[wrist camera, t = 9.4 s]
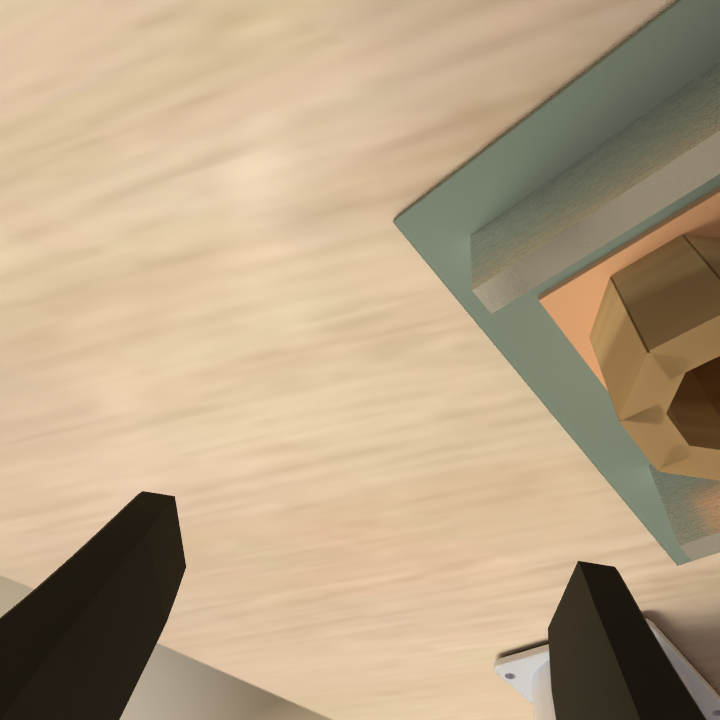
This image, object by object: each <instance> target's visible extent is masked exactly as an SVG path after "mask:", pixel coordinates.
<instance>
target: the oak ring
mask: <svg viewBox="0 0 720 720" xmlns="http://www.w3.org/2000/svg"><path fill="white" fill-rule="evenodd" d="M611 276H612V278H611V277H610V278H609V281H608V284H607V286H606V289H605V292H604V295H603V298H602V301H601V304H600V307H599V310H598V313H597V315H596V318H595V321H594V324H593V327H592V330H591V333H590V336H589V337H590V341H591V344H592V347H593V349H594V352H595V355H596V358H597V361H598V363H599V366H600V369H601V372H602V375H603V377H604V380H605V383H606V386H607V389H608V391H609V394H610V397H611V400H612V403H613V405H614V408H615V411H616V414H617V417H618V419H619V422H620V423H621V424H622V426H623V427H624V428H625V430H626V431H627V432H628V434H629V435H630V436H631V437H632V439H633V440H634V441H635V443H636V444H637V445H638V447H639V448H640V449H641V450H642V452H643V453H644V454H645V456H646V457H647V458H648V459H649V461H650V462H651V463H652V465H653V466H654V467H655V469H656V470H657V471H658V470H659V472H664V473H671V474H678V475H684V476H691V477H698V478H705V479H712V480H719V481H720V238H714V237H706V236H697V235H689V234H684V235H683V236H682V235H680V236H678V237H676V238H674V239H673V240H671V241H669V242H668V243H666V244H664V245H662V246H661V247H659V248H657V249H656V250H654V251H652V252H650V253H649V254H647V255H645V256H644V257H642V258H640V259H639V260H637V261H635V262H633V263H632V264H630V265H628V266H627V267H625V268H623V269H621V270H620V271H618V272H616V273H615V274H613V275H611Z"/></svg>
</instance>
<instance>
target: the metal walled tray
mask: <svg viewBox="0 0 720 720" xmlns="http://www.w3.org/2000/svg"><path fill="white" fill-rule="evenodd" d="M719 174H720V61H719V62H718V63H717V64H715V65H714V66H712V67H711V68H709V69H708V70H707V71H705V72H704V73H702V74H701V75H699V76H698V77H697V78H695V79H694V80H692V81H691V82H689V83H688V84H687V85H685V86H684V87H682V88H681V89H679V90H678V91H677V92H675V93H674V94H672V95H671V96H669V97H668V98H667V99H665V100H664V101H662V102H661V103H659V104H658V105H657V106H655V107H654V108H652V109H651V110H649V111H648V112H647V113H645V114H644V115H642V116H641V117H639V118H638V119H637V120H635V121H634V122H632V123H631V124H629V125H628V126H627V127H625V128H624V129H622V130H621V131H619V132H618V133H617V134H615V135H614V136H612V137H611V138H609V139H608V140H607V141H605V142H604V143H602V144H601V145H599V146H598V147H596V148H595V149H594V150H592V151H591V152H589V153H588V154H586V155H585V156H584V157H582V158H581V159H579V160H578V161H576V162H575V163H574V164H572V165H571V166H569V167H568V168H566V169H565V170H564V171H562V172H561V173H559V174H558V175H556V176H555V177H554V178H552V179H551V180H549V181H548V182H546V183H545V184H544V185H542V186H541V187H539V188H538V189H536V190H535V191H534V192H532V193H531V194H529V195H528V196H526V197H525V198H524V199H522V200H521V201H519V202H518V203H516V204H515V205H514V206H512V207H511V208H509V209H508V210H506V211H505V212H504V213H502V214H501V215H499V216H498V217H496V218H495V219H494V220H492V221H491V222H489V223H488V224H486V225H485V226H484V227H482V228H481V229H479V230H478V231H476V232H475V233H474V234H472V235H471V236H470V249H471V273H472V291H473V292H474V293H475V295H476V296H477V297H478V298H479V300H480V301H481V302H482V303H483V305H484V306H485V307H486V308H487V309H488V311H489V312H490V313H491V314H492V313H494V312H496V311H497V310H499V309H500V308H502V307H504V306H505V305H507V304H509V303H510V302H512V301H514V300H515V299H517V298H518V297H520V296H522V295H523V294H525V293H527V292H528V291H530V290H531V289H533V288H535V287H536V286H538V285H540V284H541V283H543V282H544V281H546V280H548V279H549V278H551V277H553V276H554V275H556V274H557V273H559V272H561V271H562V270H564V269H566V268H567V267H569V266H571V265H572V264H574V263H575V262H577V261H579V260H580V259H582V258H584V257H585V256H587V255H588V254H590V253H592V252H593V251H595V250H597V249H598V248H600V247H601V246H603V245H605V244H606V243H608V242H610V241H611V240H613V239H614V238H616V237H618V236H619V235H621V234H623V233H624V232H626V231H628V230H629V229H631V228H632V227H634V226H636V225H637V224H639V223H641V222H642V221H644V220H645V219H647V218H649V217H650V216H652V215H654V214H655V213H657V212H658V211H660V210H662V209H663V208H665V207H667V206H668V205H670V204H671V203H673V202H675V201H676V200H678V199H680V198H681V197H683V196H685V195H686V194H688V193H689V192H691V191H693V190H694V189H696V188H698V187H699V186H701V185H702V184H704V183H706V182H707V181H709V180H711V179H712V178H714V177H715V176H717V175H719ZM648 466H649V469H650V472H651V474H652V477H653V479H654V482H655V485H656V487H657V490H658V492H659V495H660V498H661V500H662V503H663V505H664V508H665V511H666V513H667V516H668V518H669V521H670V524H671V526H672V529H673V531H674V534H675V537H676V539H677V542H678V544H679V547H680V548H681V549H682V550H683V551H684V553H685V554H686V555H687V556H688V558H689V559H690V560H691V561H692V560H695V559H698V558H701V557H704V556H707V555H710V554H713V553H716V552H719V551H720V481H719V480H712V479H705V478H698V477H691V476H684V475H678V474H671V473H664V472H659V470H658V471H657V470H656V469H655V467H654V466H653V465H652V464H650V465H648Z"/></svg>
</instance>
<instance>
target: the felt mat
mask: <svg viewBox="0 0 720 720" xmlns="http://www.w3.org/2000/svg"><path fill="white" fill-rule="evenodd" d="M719 61H720V0H677V1H676V2H674V3H673V4H672V5H670V6H669V7H668V8H666V9H665V10H664V11H663V12H661V13H660V14H659V15H657V16H656V17H655V18H653V19H652V20H651V21H650V22H648V23H647V24H646V25H644V26H643V27H642V28H641V29H639V30H638V31H637V32H635V33H634V34H633V35H631V36H630V37H629V38H628V39H626V40H625V41H624V42H622V43H621V44H620V45H618V46H617V47H616V48H615V49H613V50H612V51H611V52H609V53H608V54H607V55H606V56H604V57H603V58H602V59H600V60H599V61H598V62H596V63H595V64H594V65H593V66H591V67H590V68H589V69H587V70H586V71H585V72H583V73H582V74H581V75H580V76H578V77H577V78H576V79H574V80H573V81H572V82H570V83H569V84H568V85H567V86H565V87H564V88H563V89H561V90H560V91H559V92H558V93H556V94H555V95H554V96H552V97H551V98H550V99H548V100H547V101H546V102H545V103H543V104H542V105H541V106H539V107H538V108H537V109H535V110H534V111H533V112H532V113H530V114H529V115H528V116H526V117H525V118H524V119H522V120H521V121H520V122H519V123H517V124H516V125H515V126H513V127H512V128H511V129H510V130H508V131H507V132H506V133H504V134H503V135H502V136H500V137H499V138H498V139H497V140H495V141H494V142H493V143H491V144H490V145H489V146H487V147H486V148H485V149H484V150H482V151H481V152H480V153H478V154H477V155H476V156H474V157H473V158H472V159H471V160H469V161H468V162H467V163H465V164H464V165H463V166H462V167H460V168H459V169H458V170H456V171H455V172H454V173H452V174H451V175H450V176H449V177H447V178H446V179H445V180H443V181H442V182H441V183H439V184H438V185H437V186H436V187H434V188H433V189H432V190H430V191H429V192H428V193H426V194H425V195H424V196H423V197H421V198H420V199H419V200H417V201H416V202H415V203H414V204H412V205H411V206H410V207H408V208H407V209H406V210H404V211H403V212H402V213H401V214H399V215H398V216H397V217H395V218H394V220H393V223H394V224H395V225H396V226H397V228H398V229H399V230H400V231H401V232H402V234H403V235H404V236H405V237H406V238H407V240H408V241H409V242H410V243H411V245H412V246H413V247H414V248H415V249H416V251H417V252H418V253H419V254H420V255H421V257H422V258H423V259H424V260H425V261H426V263H427V264H428V265H429V266H430V267H431V269H432V270H433V271H434V272H435V273H436V275H437V276H438V277H439V278H440V280H441V281H442V282H443V283H444V284H445V286H446V287H447V288H448V289H449V290H450V292H451V293H452V294H453V295H454V296H455V298H456V299H457V300H458V301H459V302H460V304H461V305H462V306H463V307H464V308H465V310H466V311H467V312H468V313H469V315H470V316H471V317H472V318H473V319H474V321H475V322H476V323H477V324H478V325H479V327H480V328H481V329H482V330H483V331H484V333H485V334H486V335H487V336H488V337H489V339H490V340H491V341H492V342H493V343H494V345H495V346H496V347H497V348H498V350H499V351H500V352H501V353H502V354H503V356H504V357H505V358H506V359H507V360H508V362H509V363H510V364H511V365H512V366H513V368H514V369H515V370H516V371H517V372H518V374H519V375H520V376H521V377H522V378H523V380H524V381H525V382H526V383H527V385H528V386H529V387H530V388H531V389H532V391H533V392H534V393H535V394H536V395H537V397H538V398H539V399H540V400H541V401H542V403H543V404H544V405H545V406H546V407H547V409H548V410H549V411H550V412H551V413H552V415H553V416H554V417H555V418H556V420H557V421H558V422H559V423H560V424H561V426H562V427H563V428H564V429H565V430H566V432H567V433H568V434H569V435H570V436H571V438H572V439H573V440H574V441H575V442H576V444H577V445H578V446H579V447H580V448H581V450H582V451H583V452H584V453H585V455H586V456H587V457H588V458H589V459H590V461H591V462H592V463H593V464H594V465H595V467H596V468H597V469H598V470H599V471H600V473H601V474H602V475H603V476H604V477H605V479H606V480H607V481H608V482H609V484H610V485H611V486H612V487H613V488H614V490H615V491H616V492H617V493H618V494H619V496H620V497H621V498H622V499H623V500H624V502H625V503H626V504H627V505H628V506H629V508H630V509H631V510H632V511H633V512H634V514H635V515H636V516H637V517H638V519H639V520H640V521H641V522H642V523H643V525H644V526H645V527H646V528H647V529H648V531H649V532H650V533H651V534H652V535H653V537H654V538H655V539H656V540H657V541H658V543H659V544H660V545H661V546H662V547H663V549H664V550H665V551H666V552H667V554H668V555H669V556H670V557H671V558H672V560H673V561H674V562H675V563H676V564H677V566H678V565H681V564H684V563H687V562H690V561H691V560H690V559H689V558H688V556H687V555H686V554H685V553H684V551H683V550H682V549H681V548H680V547H679V544H678V542H677V539H676V537H675V534H674V531H673V529H672V526H671V524H670V521H669V518H668V516H667V513H666V511H665V508H664V505H663V503H662V500H661V498H660V495H659V492H658V490H657V487H656V485H655V482H654V479H653V477H652V474H651V472H650V469H649V466H648V465H650V464H652V463H651V462H650V461H649V459H648V458H647V457H646V456H645V454H644V453H643V452H642V450H641V449H640V448H639V447H638V445H637V444H636V443H635V441H634V440H633V439H632V437H631V436H630V435H629V434H628V432H627V431H626V430H625V428H624V427H623V426H622V424H621V423H620V422H619V419H618V417H617V414H616V411H615V408H614V405H613V403H612V400H611V397H610V394H609V392H608V391H607V389H606V388H605V387H604V385H603V384H602V383H601V382H600V380H599V379H598V378H597V376H596V375H595V374H594V372H593V371H592V370H591V368H590V367H589V366H588V364H587V363H586V362H585V361H584V359H583V358H582V357H581V355H580V354H579V353H578V351H577V350H576V349H575V347H574V346H573V345H572V343H571V342H570V341H569V340H568V338H567V337H566V336H565V334H564V333H563V332H562V330H561V329H560V328H559V326H558V325H557V324H556V322H555V321H554V320H553V318H552V317H551V316H550V315H549V313H548V312H547V311H546V309H545V308H544V307H543V305H542V304H541V303H540V301H539V299H538V296H539V295H540V294H542V293H544V292H545V291H547V290H548V289H550V288H552V287H553V286H555V285H557V284H558V283H560V282H562V281H563V280H565V279H567V278H568V277H570V276H572V275H573V274H575V273H577V272H578V271H580V270H582V269H583V268H585V267H586V266H588V265H590V264H591V263H593V262H595V261H596V260H598V259H600V258H601V257H603V256H605V255H606V254H608V253H610V252H611V251H613V250H615V249H616V248H618V247H620V246H621V245H623V244H625V243H626V242H628V241H629V240H631V239H633V238H634V237H636V236H638V235H639V234H641V233H643V232H644V231H646V230H648V229H649V228H651V227H653V226H654V225H656V224H658V223H659V222H661V221H663V220H664V219H666V218H668V217H669V216H671V215H672V214H674V213H676V212H677V211H679V210H681V209H682V208H684V207H686V206H687V205H689V204H691V203H692V202H694V201H696V200H697V199H699V198H701V197H702V196H704V195H706V194H707V193H709V192H710V191H712V190H714V189H715V188H717V187H719V186H720V174H719V175H717V176H715V177H714V178H712V179H711V180H709V181H707V182H706V183H704V184H702V185H701V186H699V187H698V188H696V189H694V190H693V191H691V192H689V193H688V194H686V195H685V196H683V197H681V198H680V199H678V200H676V201H675V202H673V203H671V204H670V205H668V206H667V207H665V208H663V209H662V210H660V211H658V212H657V213H655V214H654V215H652V216H650V217H649V218H647V219H645V220H644V221H642V222H641V223H639V224H637V225H636V226H634V227H632V228H631V229H629V230H628V231H626V232H624V233H623V234H621V235H619V236H618V237H616V238H614V239H613V240H611V241H610V242H608V243H606V244H605V245H603V246H601V247H600V248H598V249H597V250H595V251H593V252H592V253H590V254H588V255H587V256H585V257H584V258H582V259H580V260H579V261H577V262H575V263H574V264H572V265H571V266H569V267H567V268H566V269H564V270H562V271H561V272H559V273H557V274H556V275H554V276H553V277H551V278H549V279H548V280H546V281H544V282H543V283H541V284H540V285H538V286H536V287H535V288H533V289H531V290H530V291H528V292H527V293H525V294H523V295H522V296H520V297H518V298H517V299H515V300H514V301H512V302H510V303H509V304H507V305H505V306H504V307H502V308H500V309H499V310H497V311H496V312H494V313H492V314H491V313H490V312H489V311H488V309H487V308H486V307H485V306H484V305H483V303H482V302H481V301H480V300H479V298H478V297H477V296H476V295H475V293H474V292H473V291H472V273H471V249H470V236H471V235H472V234H474V233H475V232H476V231H478V230H479V229H481V228H482V227H484V226H485V225H486V224H488V223H489V222H491V221H492V220H494V219H495V218H496V217H498V216H499V215H501V214H502V213H504V212H505V211H506V210H508V209H509V208H511V207H512V206H514V205H515V204H516V203H518V202H519V201H521V200H522V199H524V198H525V197H526V196H528V195H529V194H531V193H532V192H534V191H535V190H536V189H538V188H539V187H541V186H542V185H544V184H545V183H546V182H548V181H549V180H551V179H552V178H554V177H555V176H556V175H558V174H559V173H561V172H562V171H564V170H565V169H566V168H568V167H569V166H571V165H572V164H574V163H575V162H576V161H578V160H579V159H581V158H582V157H584V156H585V155H586V154H588V153H589V152H591V151H592V150H594V149H595V148H596V147H598V146H599V145H601V144H602V143H604V142H605V141H607V140H608V139H609V138H611V137H612V136H614V135H615V134H617V133H618V132H619V131H621V130H622V129H624V128H625V127H627V126H628V125H629V124H631V123H632V122H634V121H635V120H637V119H638V118H639V117H641V116H642V115H644V114H645V113H647V112H648V111H649V110H651V109H652V108H654V107H655V106H657V105H658V104H659V103H661V102H662V101H664V100H665V99H667V98H668V97H669V96H671V95H672V94H674V93H675V92H677V91H678V90H679V89H681V88H682V87H684V86H685V85H687V84H688V83H689V82H691V81H692V80H694V79H695V78H697V77H698V76H699V75H701V74H702V73H704V72H705V71H707V70H708V69H709V68H711V67H712V66H714V65H715V64H717V63H718V62H719ZM719 552H720V551H719ZM716 553H718V552H716ZM713 554H715V553H713ZM710 555H712V554H710ZM707 556H709V555H707ZM704 557H706V556H704ZM701 558H703V557H701ZM698 559H700V558H698ZM695 560H696V559H695ZM692 561H693V560H692Z"/></svg>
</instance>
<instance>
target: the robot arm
mask: <svg viewBox="0 0 720 720" xmlns="http://www.w3.org/2000/svg"><path fill="white" fill-rule="evenodd" d="M185 569H186V563H185V557H184V551H183V545H182V538H181V532H180V526H179V520H178V514H177V507H176V501H175V496H169V495H163V494H157V493H150V492H144V491H142V492H141V493H139V494H138V495H137V496H136V497H135V498H134V499H133V500H132V501H131V502H129V503H128V504H127V505H126V506H125V507H124V508H123V509H122V510H121V511H120V512H119V513H118V514H117V515H116V516H115V517H114V518H113V519H112V520H111V521H109V522H108V523H107V524H106V525H105V526H104V527H103V528H102V529H101V530H100V531H99V532H98V533H97V534H96V535H95V536H93V537H92V538H91V539H90V540H89V541H88V542H87V543H86V544H85V545H84V546H83V547H82V548H81V549H79V550H78V551H77V552H76V553H75V554H74V555H73V556H72V557H71V558H70V559H68V560H67V561H66V562H65V563H64V564H63V565H62V566H61V567H59V568H58V569H57V570H56V571H55V572H54V573H53V574H52V575H50V576H49V577H48V578H47V579H46V580H45V581H44V582H42V583H41V584H40V585H39V586H38V587H37V588H36V589H35V590H33V591H32V592H31V593H30V594H29V595H28V596H26V597H25V598H24V599H23V600H22V601H20V602H19V603H18V604H17V605H16V606H14V607H13V608H12V609H11V610H10V611H8V612H7V613H6V614H5V615H3V616H2V617H1V618H0V720H119V719H120V717H121V715H122V713H123V711H124V709H125V707H126V705H127V703H128V701H129V699H130V697H131V695H132V692H133V691H134V688H135V686H136V684H137V682H138V680H139V678H140V676H141V674H142V672H143V670H144V668H145V666H146V664H147V662H148V660H149V658H150V656H151V653H152V651H153V649H154V647H155V645H156V643H157V641H158V639H159V637H160V635H161V633H162V631H163V628H164V626H165V624H166V622H167V619H168V617H169V614H170V611H171V608H172V606H173V603H174V600H175V598H176V595H177V592H178V589H179V586H180V583H181V580H182V577H183V574H184V572H185ZM548 638H549V644H547V645H544V646H540V647H537V648H533V649H530V650H527V651H523V652H520V653H516V654H513V655H510V656H506V657H503V658H499V659H497V660H495V662H494V671H495V672H496V673H497V674H498V675H499V676H500V677H501V678H502V679H504V680H505V681H506V682H507V683H508V684H509V685H511V686H512V687H513V688H514V689H515V690H516V691H517V692H519V693H520V694H521V695H522V696H523V697H524V698H526V699H527V700H528V701H529V702H530V703H531V704H532V705H533V714H534V720H720V696H719V695H718V694H717V693H716V691H715V690H714V689H713V688H712V687H711V686H710V685H709V684H708V683H707V682H706V681H705V679H704V678H703V677H702V676H701V675H700V674H699V673H698V672H697V671H696V670H695V668H694V667H693V666H692V665H691V664H690V663H689V662H688V661H687V660H686V659H685V657H684V656H683V655H682V654H681V653H680V652H679V651H678V650H677V649H676V648H675V646H674V645H673V644H672V643H671V642H670V641H669V640H668V639H667V638H666V637H665V635H664V634H663V633H662V632H661V631H660V630H659V629H658V628H657V627H656V626H655V624H654V623H653V622H652V621H650V620H649V619H646V618H644V616H643V614H642V612H641V611H640V609H639V607H638V605H637V604H636V602H635V600H634V598H633V597H632V595H631V593H630V591H629V590H628V588H627V586H626V584H625V582H624V581H623V579H622V577H621V575H620V574H619V572H618V571H617V569H616V568H615V567H613V566H606V565H600V564H594V563H588V562H581V561H578V563H577V565H576V567H575V569H574V572H573V574H572V576H571V578H570V581H569V583H568V585H567V587H566V589H565V592H564V594H563V596H562V598H561V601H560V603H559V605H558V607H557V610H556V612H555V614H554V616H553V618H552V621H551V623H550V625H549V627H548Z"/></svg>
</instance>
